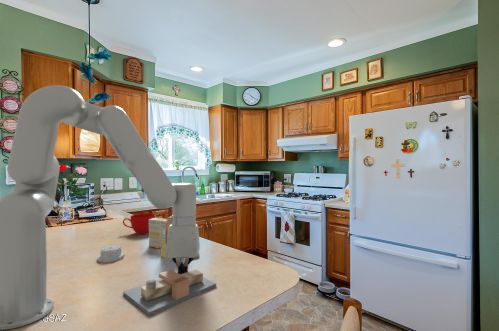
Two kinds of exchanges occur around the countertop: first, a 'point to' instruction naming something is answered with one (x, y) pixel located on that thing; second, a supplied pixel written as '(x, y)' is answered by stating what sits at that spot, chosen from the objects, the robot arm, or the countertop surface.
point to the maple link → (167, 285)
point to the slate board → (165, 297)
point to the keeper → (176, 283)
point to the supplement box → (155, 232)
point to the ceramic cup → (140, 222)
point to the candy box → (164, 236)
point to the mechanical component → (110, 254)
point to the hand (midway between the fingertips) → (182, 277)
